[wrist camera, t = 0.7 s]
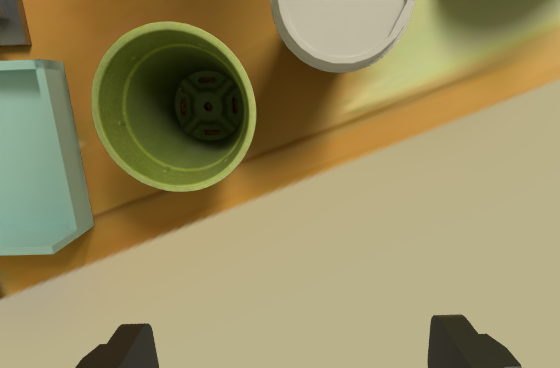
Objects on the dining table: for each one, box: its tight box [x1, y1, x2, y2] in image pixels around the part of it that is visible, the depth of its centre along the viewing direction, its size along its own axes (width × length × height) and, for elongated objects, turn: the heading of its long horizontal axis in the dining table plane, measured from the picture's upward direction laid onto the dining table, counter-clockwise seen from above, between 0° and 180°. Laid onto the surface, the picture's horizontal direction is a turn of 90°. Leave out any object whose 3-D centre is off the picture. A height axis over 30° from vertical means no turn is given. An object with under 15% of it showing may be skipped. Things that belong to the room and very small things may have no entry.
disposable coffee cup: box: [271, 0, 415, 73], centre depth 27 cm, size 10×10×12 cm
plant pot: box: [91, 21, 256, 192], centre depth 29 cm, size 12×12×11 cm
